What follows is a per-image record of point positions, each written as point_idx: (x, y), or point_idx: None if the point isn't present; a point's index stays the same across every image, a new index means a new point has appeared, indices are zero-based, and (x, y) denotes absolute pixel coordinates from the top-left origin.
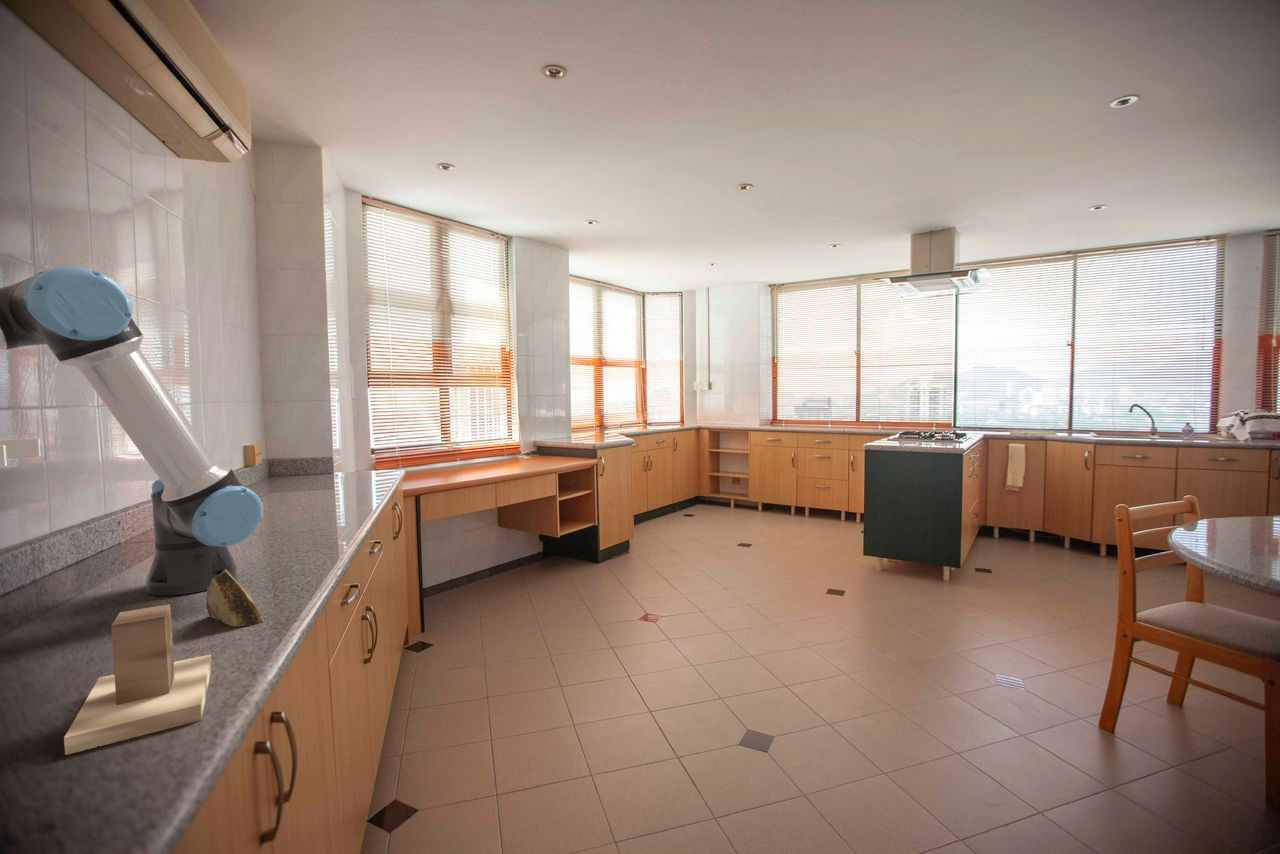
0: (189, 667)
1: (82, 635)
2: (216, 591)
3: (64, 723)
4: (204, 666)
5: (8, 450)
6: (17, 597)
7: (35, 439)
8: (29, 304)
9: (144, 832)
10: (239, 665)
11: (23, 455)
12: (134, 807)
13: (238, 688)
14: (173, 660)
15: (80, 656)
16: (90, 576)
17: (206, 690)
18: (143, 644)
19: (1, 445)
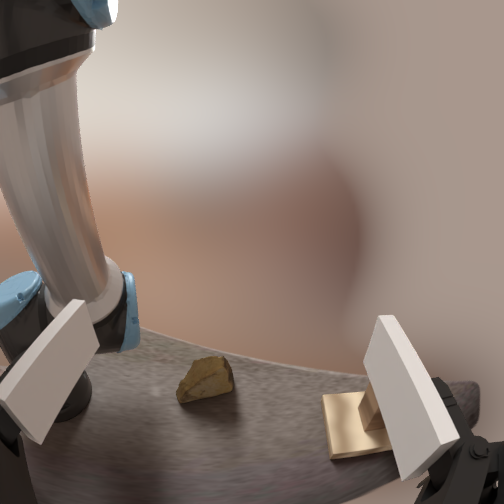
0: (343, 402)
1: (142, 485)
2: (218, 377)
3: (377, 462)
4: (346, 395)
5: (63, 371)
6: None
7: (83, 305)
8: None
9: (475, 384)
10: (325, 387)
11: (84, 363)
12: (464, 393)
13: (365, 383)
14: (361, 400)
15: (216, 488)
16: None
17: None
18: None
19: (387, 318)
